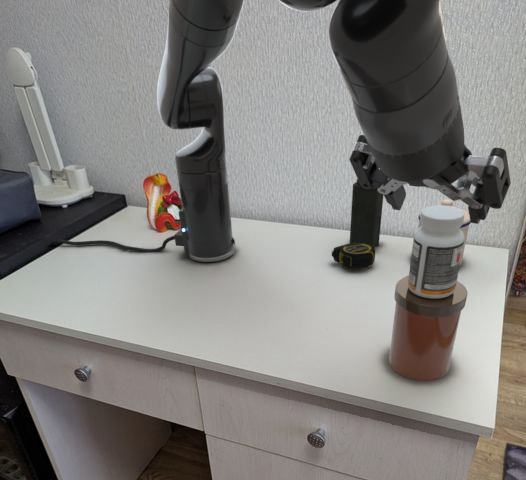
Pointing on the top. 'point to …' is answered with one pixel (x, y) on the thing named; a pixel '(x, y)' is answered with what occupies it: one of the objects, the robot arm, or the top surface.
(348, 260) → the tape measure
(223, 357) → the top surface
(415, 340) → the jar
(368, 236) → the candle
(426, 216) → the pill bottle
